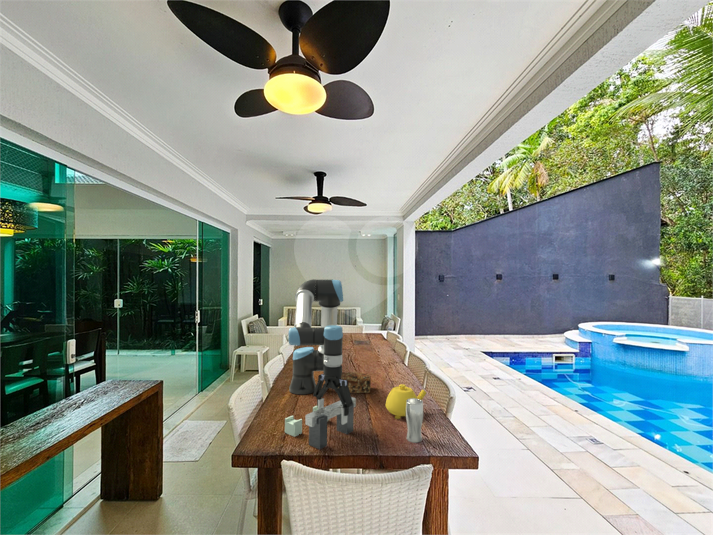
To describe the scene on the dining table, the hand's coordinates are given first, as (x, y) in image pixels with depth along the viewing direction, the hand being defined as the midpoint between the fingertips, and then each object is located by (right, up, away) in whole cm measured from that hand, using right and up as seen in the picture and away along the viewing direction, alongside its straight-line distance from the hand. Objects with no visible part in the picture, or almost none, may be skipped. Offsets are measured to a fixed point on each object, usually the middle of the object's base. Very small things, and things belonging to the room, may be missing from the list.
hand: (332, 419), depth 140 cm
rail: (0, +2, 0) cm, 2 cm away
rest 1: (-16, -7, +4) cm, 18 cm away
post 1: (-5, -7, -6) cm, 11 cm away
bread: (+8, -9, +57) cm, 59 cm away
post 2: (+5, -8, +6) cm, 11 cm away
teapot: (+33, -8, +24) cm, 42 cm away
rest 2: (-6, -8, +16) cm, 19 cm away
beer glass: (+33, -8, -1) cm, 34 cm away
